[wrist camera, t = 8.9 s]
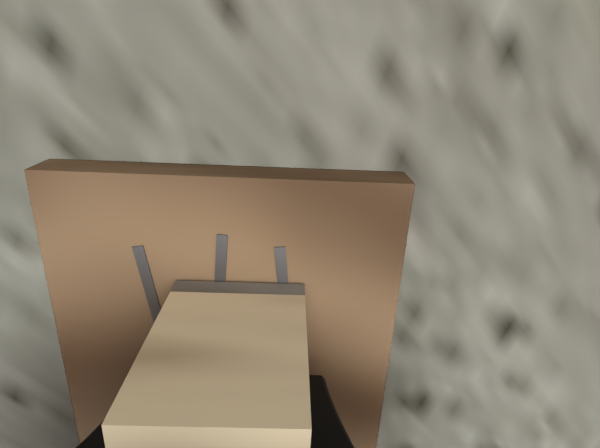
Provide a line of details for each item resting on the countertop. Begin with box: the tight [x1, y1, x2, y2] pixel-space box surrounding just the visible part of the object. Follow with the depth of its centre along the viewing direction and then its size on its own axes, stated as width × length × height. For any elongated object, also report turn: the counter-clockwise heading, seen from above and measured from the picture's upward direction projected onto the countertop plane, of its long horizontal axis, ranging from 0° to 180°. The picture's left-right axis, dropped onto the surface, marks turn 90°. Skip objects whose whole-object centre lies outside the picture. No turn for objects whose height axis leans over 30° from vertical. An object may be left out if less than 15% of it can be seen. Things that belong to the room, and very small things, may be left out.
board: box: [24, 159, 415, 448], centre depth 14 cm, size 14×10×1 cm
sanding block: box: [101, 280, 312, 448], centre depth 11 cm, size 6×4×5 cm, turn 178°
